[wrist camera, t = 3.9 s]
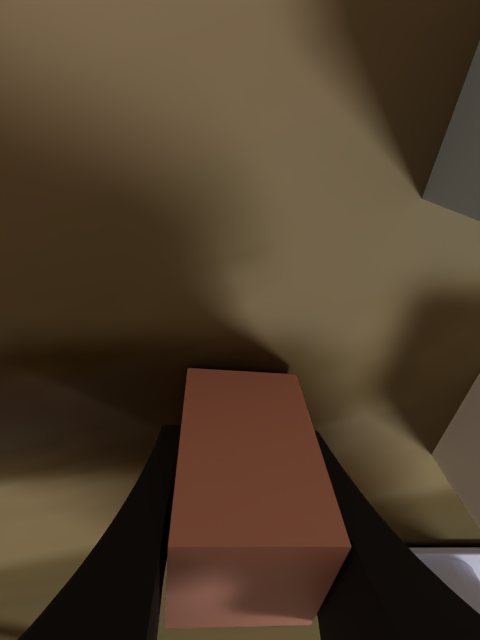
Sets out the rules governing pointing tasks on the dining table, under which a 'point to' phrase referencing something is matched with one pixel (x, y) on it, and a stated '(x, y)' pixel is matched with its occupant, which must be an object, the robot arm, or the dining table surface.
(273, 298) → the dining table surface
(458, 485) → the pale grey block
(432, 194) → the blue-grey block
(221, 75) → the dining table surface
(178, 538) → the brick-red block
